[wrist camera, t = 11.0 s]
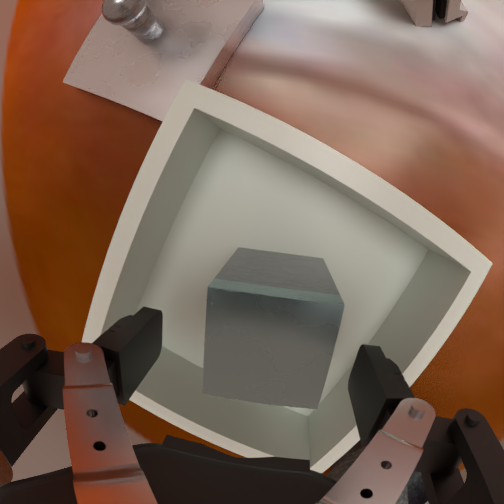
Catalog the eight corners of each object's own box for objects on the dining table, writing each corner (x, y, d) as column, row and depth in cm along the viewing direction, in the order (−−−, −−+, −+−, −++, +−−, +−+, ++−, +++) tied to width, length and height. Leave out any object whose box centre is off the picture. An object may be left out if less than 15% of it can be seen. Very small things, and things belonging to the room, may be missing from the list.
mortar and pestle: (315, 411, 21) (322, 550, 9) (431, 380, 19) (495, 494, 7) (330, 485, 23) (335, 585, 11) (421, 461, 21) (452, 553, 9)
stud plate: (78, 88, 17) (15, 66, 11) (146, -19, 15) (106, -66, 8) (187, 133, 17) (136, 109, 11) (264, 7, 15) (252, -57, 8)
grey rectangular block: (238, 247, 17) (207, 287, 11) (322, 258, 17) (344, 304, 10) (231, 324, 19) (202, 393, 12) (309, 334, 18) (317, 409, 11)
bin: (121, 324, 21) (76, 364, 15) (217, 110, 17) (185, 79, 11) (311, 420, 21) (314, 479, 15) (440, 240, 17) (492, 263, 11)
